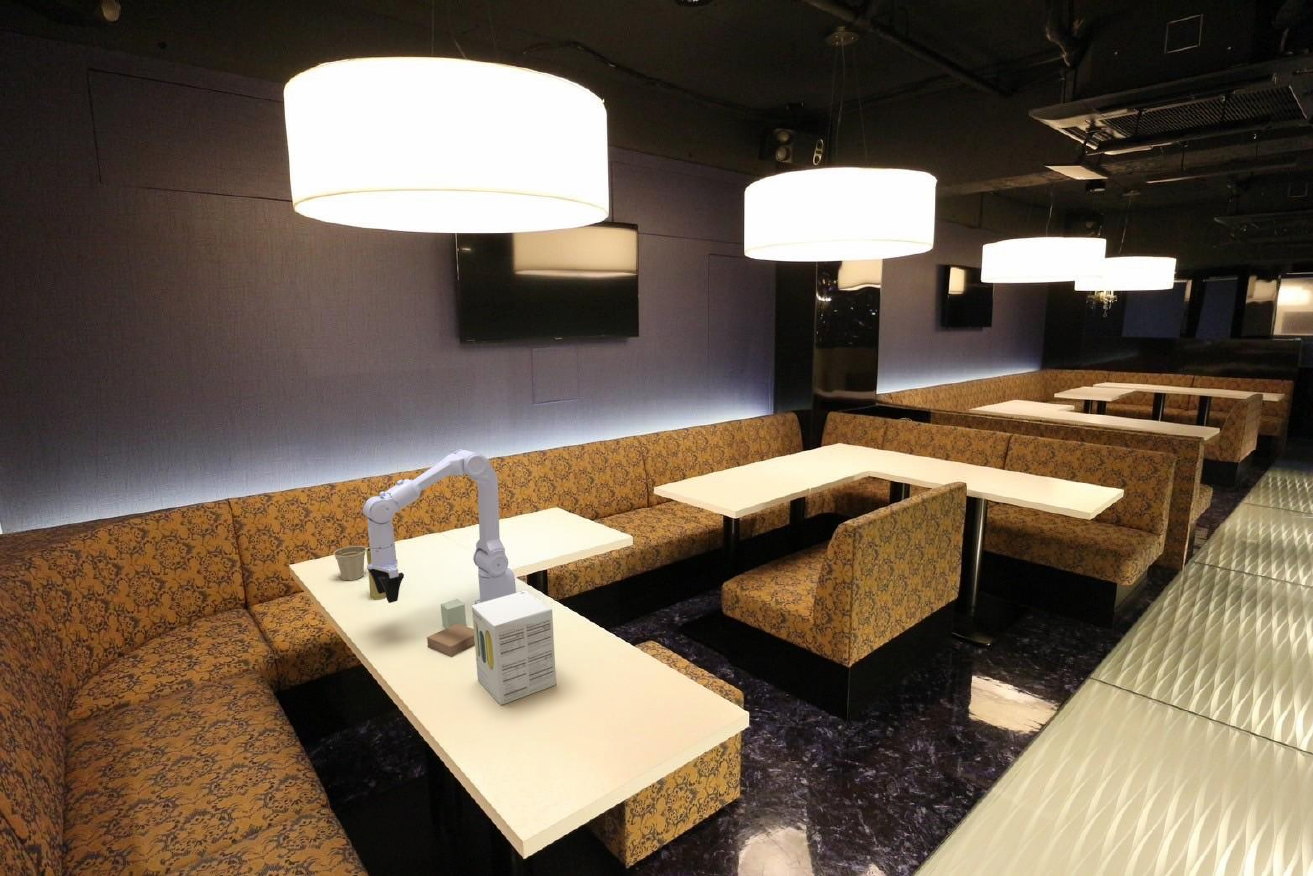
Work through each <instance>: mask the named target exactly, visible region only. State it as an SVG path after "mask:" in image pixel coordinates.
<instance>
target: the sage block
mask: <svg viewBox="0 0 1313 876" xmlns="http://www.w3.org/2000/svg"><path fill="white" fill-rule="evenodd" d="M440 611H441V612H440V613H441V622H442V626H443V627H444V629H446V628H448V627H450V626H452V625H455V624H457V623H459V624H461V625H464V626H467V619H466V608H465V604H464V603H463V602H462V601H460V600H459V599H458V598H456V599H454V600H450V601H446V602H443V603H440Z"/></svg>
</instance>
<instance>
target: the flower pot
mask: <svg viewBox="0 0 1313 876" xmlns="http://www.w3.org/2000/svg"><path fill="white" fill-rule="evenodd" d="M367 549H368V548H367V547H365V546H364V545H363V546H362V545H354V546H346V547H343V548H339V549H337V550H335V551H334V552H333V556H334V557H335V560H336V561H337V562H336V563H337V565H338V569H339V573H340V576H341V579H342V580H343V581H349V582H350V581H356V580H359V579H361V578H362V577H364V571H365V555H366V550H367Z"/></svg>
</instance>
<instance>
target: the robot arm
mask: <svg viewBox="0 0 1313 876" xmlns="http://www.w3.org/2000/svg"><path fill="white" fill-rule="evenodd" d="M490 460H491V459H489V458H488V457H486V456H484V455H483V454H481V453H478V452H474V451H471V450H469V449H467V448H460V449H457V450H455V451H454V452H453V453H449V454H448V455H446V457H444V458H443V459H442V460H441V461H439V462H438V463H436V464H435V465H433V466H432V467H430V468H429V469H428V470H426V471H424V472H423V473H422V474H420V475H419V476H417V477H416V478H414V479H408V478H406V479H404V480H403V479H399V480H398V481H396V484H395V485H394V486H392V487H391V488H388V489H387V490H386V491H382V490H381V492H379V495H377V496H374V495H373V496H372V497H369V498H368V499H367V500H366V503H364V505H363V508H362V514H363V515H364V516H365V517H366V518H367V533H368V542H369V548H370V552H371V564H368V563H367V564H366V570H367V572H368V571H369V572H370V574H371V576H372V577H373V580H374V582H375V585H376V588H377V591H378V593H379V594H381V593H385V594H386V598H385V599H386V601H387V602H388V604H391V603H395V602H398V600H399V594H400V587H401V584H402V582H403V579H404V578H405V577H404V576H405V574H404V573H403V572H399V568H398V565H399V564H398V563H399V562H398V559H397V551H396V550H397V549H396V543H395V542H396V540H395V534H394V525H393V519H394V517H395V516H396V513H397V512H399V511H400V510H402V509H403V508H405V507H407V506H409V505H410V504H412V503H413V502H415V501H416V500H419V498H420V496H421V492H422V491H424V490H425V489H428V487H430V486H432V485H435V484H436V483H437V482H439V481H441V480H443V479H445V478H447V477H449V476H454V477H455V476H457V477H459V476H461V477H464V475H466V476H468V477H469V478H470V479H472V481H475V482H476V483H477V500H478V501H477V504H478V523H479V524H478V529H479V531H478V532H479V533H478V535H479V536H478V537H479V539H478V540H477V542H476V543H475V550H474V551H475V552H474V554H473V558H472V560H473V563H474V565H475V566H476V567H478V568H477V569H478V572H477V575H478V590H479V599H476V600H474V603H475V604H478V603H482V602H485V601H489V600H493V599H496V598H500V597H503V596H507V595H510V594H514V593H517V588H516V587H517V585H516V578H515V574H514V571H513V570H512V569H511V568H510V567H509V559H508V557H507V555H506V548H505V547H504V545H503V541H502V540H501V539H500V537H501V536H500V508H499V507H500V506H499V501H500V500H499V475H498V474H497V472H496V471H495V469H494V468H493V466H492V464H491V463H490Z"/></svg>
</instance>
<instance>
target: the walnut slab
mask: <svg viewBox="0 0 1313 876" xmlns="http://www.w3.org/2000/svg"><path fill="white" fill-rule="evenodd" d="M426 641H427V648H428V649H431V650H434V651H436V652H438V653H440V654H444V655H446V656H448V657H450V658H453V657H454V656H457V655H459V654H460V653H462V652H465V651H466V650H468V649H470V648H473V647H475V640H474V628H472V627H469V626H467V625H466V626H464V625H461V624H459V623H457V624H455V625H452V626H450V627H448V628H444V629H441V630H439V631H437V632H435V633H433V634H431V635H429V636H426Z"/></svg>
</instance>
